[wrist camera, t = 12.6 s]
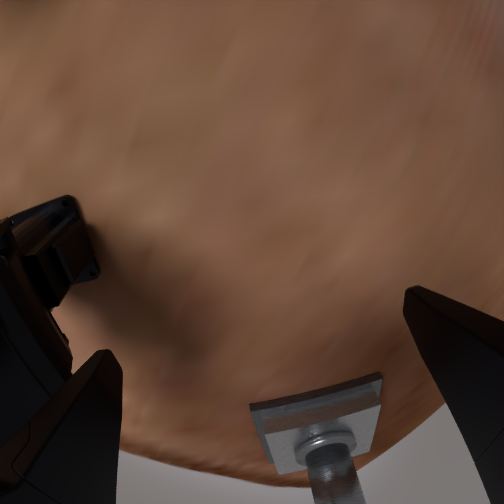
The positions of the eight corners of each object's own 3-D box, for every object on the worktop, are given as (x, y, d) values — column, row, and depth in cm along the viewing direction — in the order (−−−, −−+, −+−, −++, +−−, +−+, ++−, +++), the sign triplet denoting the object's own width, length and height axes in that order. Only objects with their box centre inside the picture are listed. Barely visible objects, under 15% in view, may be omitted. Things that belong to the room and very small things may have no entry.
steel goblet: (283, 459, 30) (302, 564, 18) (314, 430, 28) (344, 552, 15) (333, 459, 32) (358, 553, 20) (366, 430, 29) (402, 535, 17)
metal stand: (268, 457, 36) (271, 478, 33) (249, 404, 30) (252, 431, 27) (367, 432, 36) (375, 452, 33) (379, 371, 30) (391, 396, 27)
